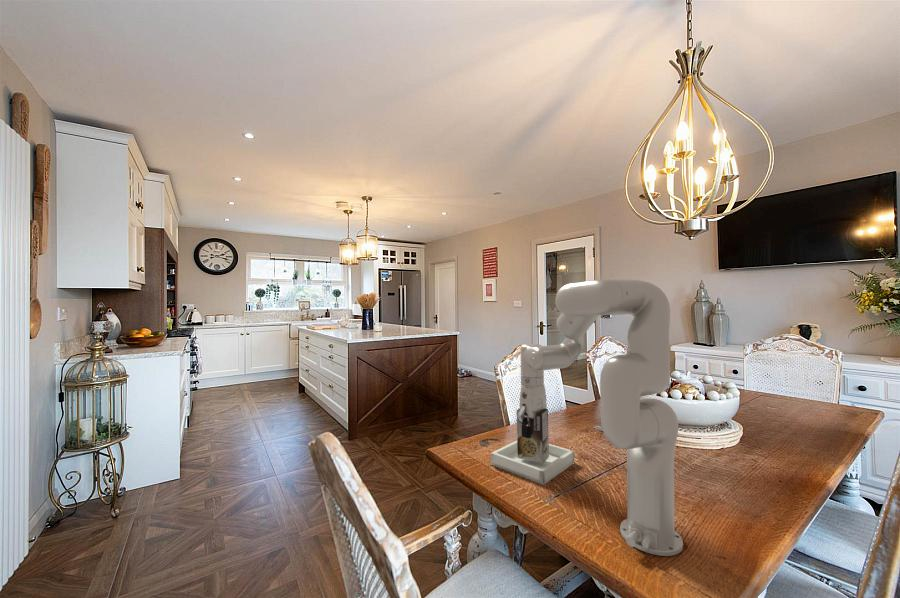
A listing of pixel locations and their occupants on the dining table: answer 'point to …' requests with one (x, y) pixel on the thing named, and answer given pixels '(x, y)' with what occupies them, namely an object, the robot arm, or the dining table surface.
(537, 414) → the coffee box
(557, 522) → the dining table surface
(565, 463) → the tray
